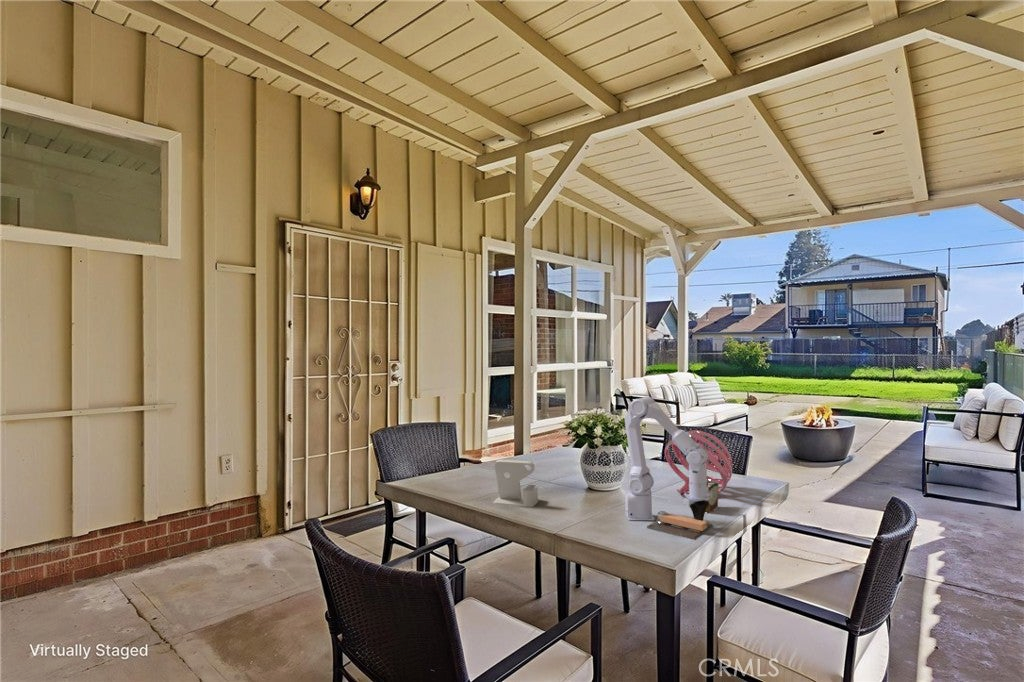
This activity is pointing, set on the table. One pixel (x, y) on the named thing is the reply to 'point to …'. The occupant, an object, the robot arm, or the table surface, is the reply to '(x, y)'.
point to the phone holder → (515, 484)
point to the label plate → (677, 529)
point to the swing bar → (682, 521)
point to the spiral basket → (712, 457)
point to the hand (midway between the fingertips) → (698, 522)
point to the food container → (713, 502)
